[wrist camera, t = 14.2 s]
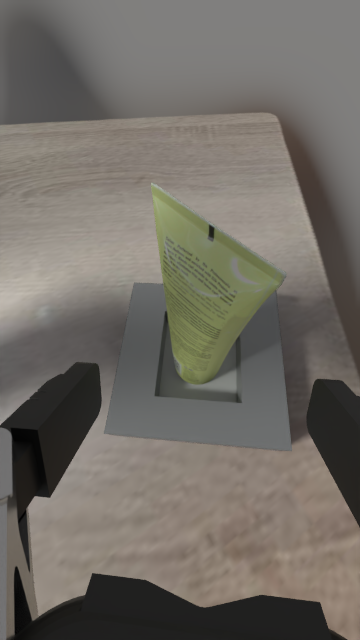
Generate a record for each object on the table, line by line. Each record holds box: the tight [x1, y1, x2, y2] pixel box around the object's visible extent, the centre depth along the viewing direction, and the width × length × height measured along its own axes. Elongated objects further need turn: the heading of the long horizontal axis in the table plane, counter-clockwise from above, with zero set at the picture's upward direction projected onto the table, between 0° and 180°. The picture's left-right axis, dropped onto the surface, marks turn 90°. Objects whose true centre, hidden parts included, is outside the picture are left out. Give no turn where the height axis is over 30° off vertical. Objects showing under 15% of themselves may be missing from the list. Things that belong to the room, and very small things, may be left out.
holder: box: [104, 283, 292, 451], centre depth 27 cm, size 16×16×4 cm
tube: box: [151, 183, 287, 385], centre depth 19 cm, size 6×5×20 cm
